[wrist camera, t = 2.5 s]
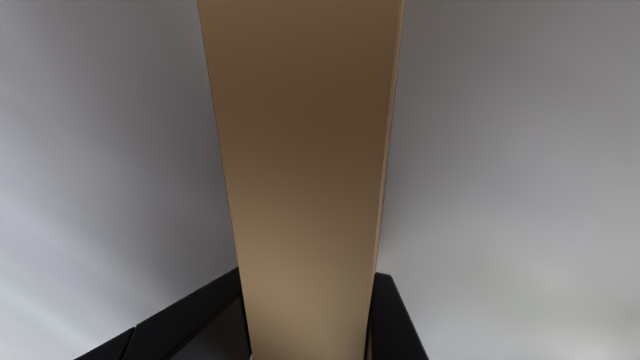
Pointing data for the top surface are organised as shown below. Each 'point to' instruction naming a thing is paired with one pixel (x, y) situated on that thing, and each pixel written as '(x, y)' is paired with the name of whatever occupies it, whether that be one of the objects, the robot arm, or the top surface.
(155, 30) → the top surface
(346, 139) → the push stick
